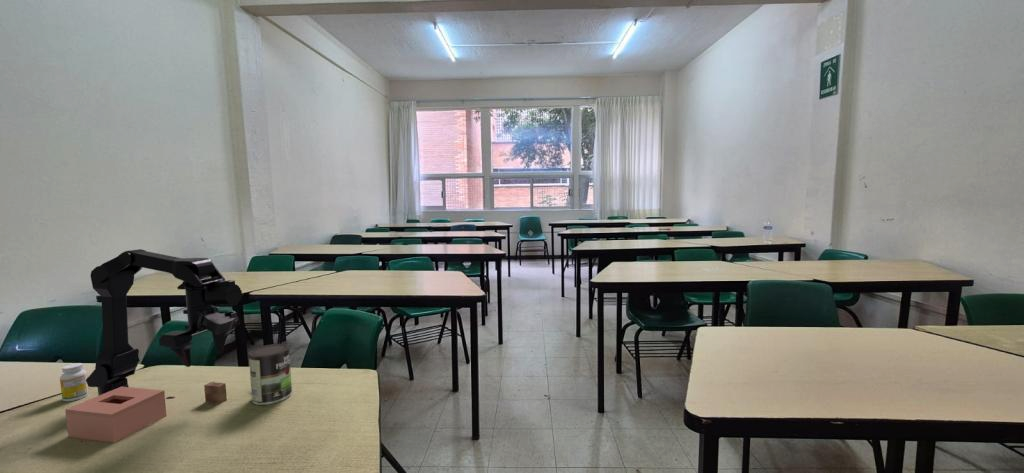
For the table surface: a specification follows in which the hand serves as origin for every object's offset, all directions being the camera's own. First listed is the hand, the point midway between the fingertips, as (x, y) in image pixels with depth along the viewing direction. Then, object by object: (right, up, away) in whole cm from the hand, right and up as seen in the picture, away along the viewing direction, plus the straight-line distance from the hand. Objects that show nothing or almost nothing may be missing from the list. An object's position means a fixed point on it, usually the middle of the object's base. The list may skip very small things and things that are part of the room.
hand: (204, 359), depth 111 cm
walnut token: (+1, -13, +3) cm, 13 cm away
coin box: (-15, -14, -9) cm, 22 cm away
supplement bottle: (-42, -13, +6) cm, 45 cm away
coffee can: (+15, -13, +6) cm, 21 cm away
